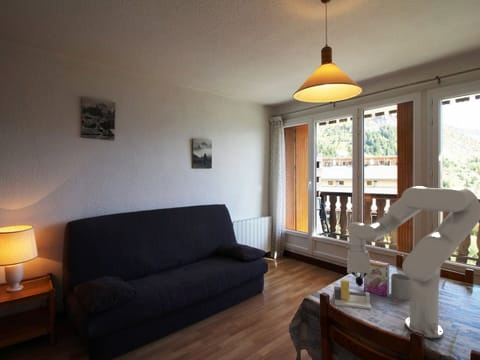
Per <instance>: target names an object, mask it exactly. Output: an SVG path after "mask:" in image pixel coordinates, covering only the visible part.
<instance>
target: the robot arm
mask: <svg viewBox="0 0 480 360" xmlns="http://www.w3.org/2000/svg"><path fill="white" fill-rule="evenodd" d="M387 210H388V211H387V212H385V214H384V215H383V216H382V217H380V218H379V219H378V220H377V221H375V222H372V223H369V224H365V223H364V222H358V221H355V222H353V221H352V222H350V223H348V244H347V245H345V248H346V249H347V256H346V258H347V259H346V265H347V266H346V267H347V269H346V272H347V274H350V275H353V276H354V277H355V284H356V285H357V287H360V288H361V287H363V285H364V277H365V276H366V275H369V274H371V265H370V260H371V259H370V258H371V257H370V253H369V251H368V250H367V241H368V242H375V241H377V240H379V239H382V238H384V237H386V236H387V235H389V234H391V233H392V232H394V231H395V230H396V229H398V227H400V226H401V225H403V224H405V223H406V222H408V220H410V219H411V218H412V217H414V216H415V215H417V214H418V213H420V212H422V211H429V212H431V211H432V212H440V213H441V212H442V213H448V214H447V216H446V217H445V218H444V219H443V220H442V221H441V223H440V224H439V225H437V226H438V227H436V228H435V229H434V230H433V231H432V232H431V233H428V234H427V235H425V236H424V237H423V238H421V240H420V241H418V242H417V244H416V245H415V246H414V247H413V248H412V250H411V251H410V252H409V253H408V255H407V256H406V257H405V258H404V260H403V261H402V266H401V267H402V271H403V274H404V275H406V276H407V277H408V278H409V279H410V299H409V316H408V317H407V318H405V320H404V324H405V326H406V328H408V329H409V330H410V331H411V332H413V333H415V332H419V333H422V334H424V336H423V337H424V338H426V337H427V338H431V339H437V338H442V337H443V335H444V329H443V328H442V327H441V326H440V325H439V303H440V302H439V301H440V300H439V295H440V278H441V267H442V266H443V264H444V263H445V262H446V261H447V260H448V259H449V258H450V257H451V256H452V255H454V254H455V252H456V250H457V249H458V247H460V245H461V244H462V242H464V241H465V240H466V238H467V237H468V236H469V235H470V233H472V231H473V230H475V228H476V226H477V225H478V223H479V221H480V200H479V198H478V196H477V195H476V194H475V193H474V192H473V191H471V190H470V189H468V188H466V187H462V186H454V187H449V188H447V187H446V188H441V187H440V188H438V187H436V188H435V187H425V186H421V185H420V186H419V185H418V186H411V187H409V188H406V189H405V190H404V191H403V192H402V195H401V197H400V198H399V199H397V200H396V201H395V202H393V203H392V204H391V205H389V207H388V209H387Z"/></svg>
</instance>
